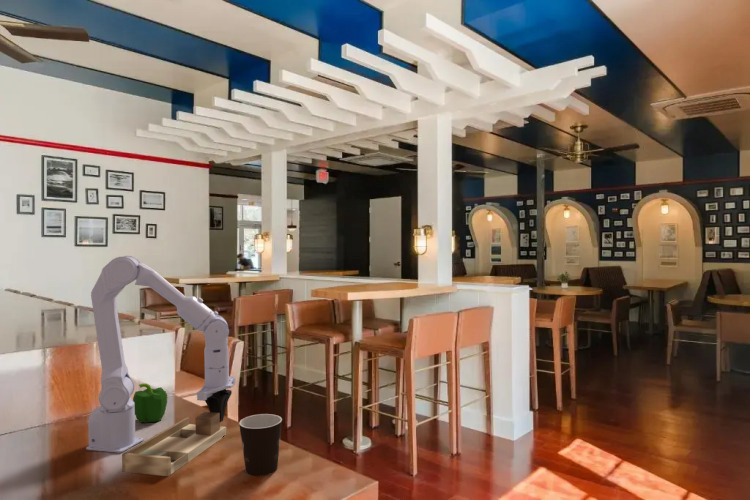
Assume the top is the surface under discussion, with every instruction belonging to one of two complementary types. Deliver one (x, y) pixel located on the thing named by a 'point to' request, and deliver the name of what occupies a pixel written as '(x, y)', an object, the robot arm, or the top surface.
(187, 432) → the birch tray
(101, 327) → the robot arm
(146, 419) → the bell pepper
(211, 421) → the walnut block
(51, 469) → the top surface
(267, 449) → the black cup
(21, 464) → the top surface
